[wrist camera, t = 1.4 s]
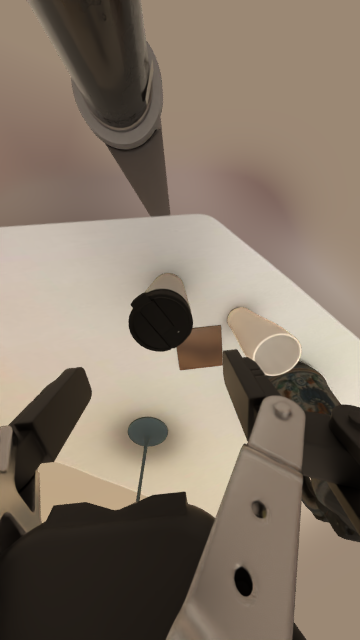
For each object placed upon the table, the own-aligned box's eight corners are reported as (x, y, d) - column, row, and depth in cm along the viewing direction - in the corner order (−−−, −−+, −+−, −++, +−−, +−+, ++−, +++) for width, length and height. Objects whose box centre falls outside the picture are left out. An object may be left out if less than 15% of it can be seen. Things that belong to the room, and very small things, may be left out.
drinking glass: (217, 327, 38) (243, 368, 24) (232, 298, 36) (269, 325, 22) (245, 337, 39) (284, 382, 25) (260, 309, 37) (313, 342, 23)
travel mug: (170, 264, 34) (165, 276, 15) (190, 292, 36) (207, 334, 17) (144, 283, 35) (109, 317, 16) (165, 310, 37) (155, 367, 18)
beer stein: (314, 350, 41) (502, 477, 18) (315, 411, 48) (453, 562, 24) (244, 367, 42) (332, 509, 19) (254, 424, 49) (329, 582, 25)
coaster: (174, 330, 38) (174, 331, 38) (220, 325, 38) (221, 325, 38) (179, 369, 42) (179, 370, 41) (222, 364, 42) (222, 365, 41)
